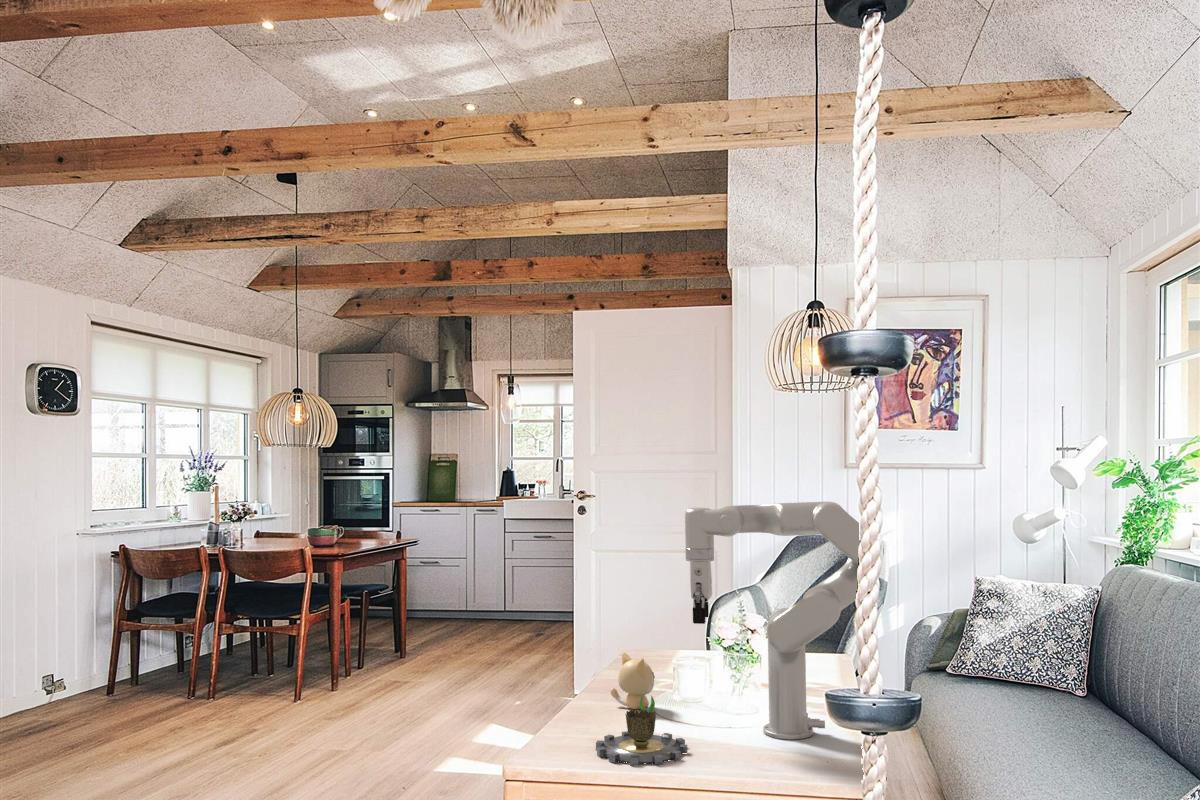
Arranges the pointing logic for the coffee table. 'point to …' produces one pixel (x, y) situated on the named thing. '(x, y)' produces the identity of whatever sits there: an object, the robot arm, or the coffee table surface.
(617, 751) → the gear
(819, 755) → the coffee table surface
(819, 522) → the robot arm
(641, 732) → the cup
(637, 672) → the kitten
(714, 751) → the coffee table surface
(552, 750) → the coffee table surface
